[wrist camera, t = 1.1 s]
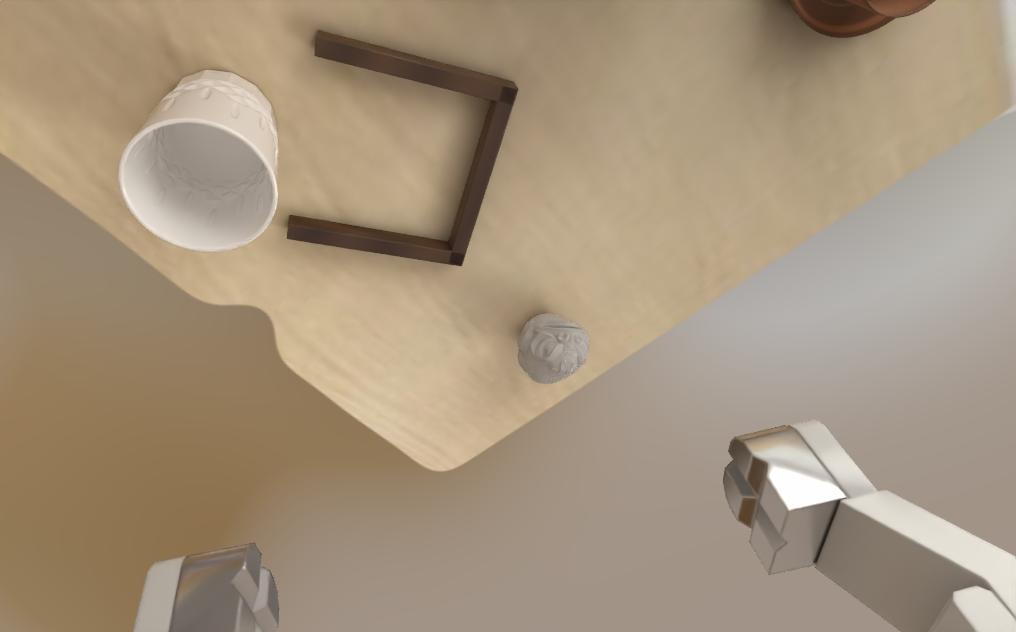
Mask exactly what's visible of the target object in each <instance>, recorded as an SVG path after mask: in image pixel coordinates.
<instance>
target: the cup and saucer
mask: <svg viewBox="0 0 1016 632" xmlns="http://www.w3.org/2000/svg"><path fill="white" fill-rule="evenodd" d="M934 1H935V0H791V3H792V5H793V7H794V9H795V11H796V13H797V14H798V15H799V17H800V18H801V19H802V20H803V21H804V22H805V23H806V24H807V25H808V26H809V27H810V28H812V29H813V30H815V31H816V32H818V33H820V34H823V35H826V36H830V37H836V38H848V37H855V36H859V35H863V34H866V33H869V32H871V31H874V30H876V29H878V28H880V27H882V26H884V25H885V24H887V23H889V22H890V21H892V20H893V19H895V18H898V17H905V16H908V15H911V14H914V13H916V12H919V11H920V10H922V9H924V8H926V7H927V6H929V5H930V4H932V3H933V2H934Z"/></svg>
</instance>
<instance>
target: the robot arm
mask: <svg viewBox="0 0 1016 632" xmlns="http://www.w3.org/2000/svg"><path fill="white" fill-rule="evenodd" d="M728 452H729V454H730V455H731V457H732V458H733V460H732V461H731V462H730V463H729V464H728V465H727V467H725V470H724V477H723V484H724V490H725V496H726V499H727V501H728V504H729V506H730V508H731V510H732V512H733V514H734V516H735V518H736V519H737V520H738V521H739V522H741V523H743V524H744V525H746V526H748V527H749V528H751V534H750V541H749V542H750V544H751V546H752V547H753V549H754V551H755V552H756V554H757V556H758V558H759V559H760V560H761V563H762V564H763V566H764V568H765V569H766V571H767V573H768V574H769V575H771V574H776V573H781V572H785V571H790V570H795V569H799V568H804V567H809V566H813V565H816V566H815V568H816V569H817V570H819V571H820V572H821V573H823V574H824V575H826V576H827V577H828V578H829V579H831V580H832V581H834V582H835V583H836V584H838V585H839V586H840V587H842V588H843V589H844V590H846V591H847V592H848V593H850V594H851V595H852V596H854V597H855V598H856V599H858V600H859V601H861V602H862V603H863V604H865V605H866V606H867V607H869V608H870V609H871V610H873V611H874V612H875V613H877V614H878V615H880V616H881V617H882V618H883V619H885V620H886V621H887V622H889V623H890V624H892V625H893V626H894V627H896V628H897V629H898V630H900V631H901V632H1016V557H1015V556H1013V555H1011V554H1009V553H1007V552H1006V551H1004V550H1002V549H1000V548H998V547H996V546H994V545H992V544H990V543H988V542H986V541H984V540H982V539H980V538H978V537H976V536H974V535H973V534H971V533H969V532H967V531H965V530H963V529H961V528H959V527H957V526H955V525H953V524H951V523H949V522H947V521H945V520H943V519H941V518H940V517H938V516H936V515H933V514H932V513H930V512H928V511H926V510H924V509H922V508H920V507H918V506H916V505H914V504H912V503H910V502H909V501H907V500H905V499H903V498H901V497H899V496H897V495H895V494H893V493H891V492H889V491H887V490H882V491H877V490H876V489H875V487H874V486H873V485H872V484H871V482H870V481H869V480H868V479H867V478H866V476H865V475H864V474H863V473H862V472H861V470H860V469H859V468H858V467H857V465H856V464H855V463H854V462H853V460H852V459H851V458H850V457H849V456H848V454H847V453H846V452H845V451H844V450H843V448H842V447H841V446H840V444H839V443H838V442H837V441H836V439H835V438H834V437H833V436H832V435H831V433H830V432H829V431H828V430H827V428H826V427H825V426H824V425H823V424H822V423H821V422H819V421H817V420H809V421H805V422H801V423H796V424H792V425H788V426H785V425H784V426H780V427H775V428H771V429H767V430H762V431H758V432H754V433H750V434H745V435H741V436H737V437H734V438H733V439H732V441H731V442H730V446H729V450H728ZM261 556H262V554H261V552H260V550H259V549H258V547H257V545H256V544H255V543H250V544H245V545H240V546H235V547H229V548H224V549H220V550H214V551H210V552H204V553H199V554H194V555H188V556H184V557H179V558H174V559H169V560H164V561H160V562H155V563H153V565H152V566H151V568H150V570H149V571H148V573H147V575H146V579H145V584H144V588H143V592H142V596H141V600H140V604H139V608H138V613H137V617H136V621H135V625H134V629H133V632H275V631H276V630H277V628H278V624H279V603H278V592H277V587H276V584H275V580H274V577H273V575H272V573H271V571H270V570H269V569H267V568H264V567H262V566H261Z"/></svg>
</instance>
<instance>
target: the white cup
mask: <svg viewBox="0 0 1016 632" xmlns="http://www.w3.org/2000/svg"><path fill="white" fill-rule="evenodd" d="M278 164H279V157H278V138H277V124H276V121H275V117H274V113H273V109H272V106H271V104H270V103H269V101H268V100H267V99H266V98H265V96H264V95H263V94H262V93H261V92H260V90H259V89H258V88H257V87H256V85H254V84H252V83H250V82H249V81H247V80H245V79H243V78H241V77H239V76H238V75H236V74H234V73H232V72H224V71H215V70H203V71H200V72H197V73H195V74H192V75H189V76H186V77H183V78H182V79H181V80H180V81H179V83H178V84H177V85H176V86H175V87H174V89H173V90H172V91H171V92H170V93H169V94H167V95H166V96H165V97H164V98H163V99H162V100H161V101H160V103H159V104H158V105H156V107H155V108H154V110H153V111H152V112H151V114H150V115H149V116H148V118H147V119H146V120H145V122H144V123H143V124H142V126H141V127H140V129H139V130H138V131H137V133H136V134H135V135H134V137H133V138H132V139H131V141H130V142H129V143H128V145H127V146H126V148H125V149H124V151H123V153H122V156H121V159H120V162H119V167H118V182H119V188H120V192H121V195H122V197H123V200H124V202H125V204H126V206H127V207H128V209H129V210H130V212H131V213H132V215H133V216H134V217H135V218H136V220H137V221H138V222H139V223H140V224H141V225H142V226H143V227H145V228H146V229H147V230H148V231H149V232H151V233H152V234H154V235H155V236H157V237H158V238H160V239H162V240H164V241H166V242H168V243H170V244H172V245H175V246H178V247H181V248H184V249H188V250H193V251H200V252H220V251H227V250H231V249H235V248H238V247H241V246H243V245H245V244H247V243H249V242H251V241H252V240H254V239H255V238H257V237H258V236H259V235H260V234H261V233H262V232H263V231H264V230H265V229H266V228H267V226H268V225H269V223H270V222H271V220H272V218H273V216H274V214H275V211H276V207H277V200H278Z"/></svg>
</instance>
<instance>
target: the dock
mask: <svg viewBox="0 0 1016 632" xmlns="http://www.w3.org/2000/svg"><path fill="white" fill-rule="evenodd" d="M315 56H317V57H321V58H325V59H329V60H333V61H337V62H341V63H345V64H349V65H353V66H357V67H361V68H365V69H369V70H373V71H377V72H381V73H385V74H389V75H393V76H397V77H401V78H405V79H409V80H413V81H417V82H421V83H425V84H429V85H433V86H437V87H441V88H445V89H449V90H453V91H457V92H461V93H464V94H468V95H472V96H476V97H480V98H484V99H488V100H491V103H490V106H489V109H488V113H487V116H486V119H485V123H484V126H483V129H482V133H481V136H480V139H479V143H478V146H477V149H476V153H475V156H474V159H473V163H472V166H471V169H470V172H469V176H468V179H467V182H466V186H465V189H464V192H463V196H462V199H461V202H460V206H459V209H458V212H457V216H456V219H455V222H454V226H453V229H452V232H451V236H450V239H449V242H447V241H441V240H435V239H429V238H423V237H417V236H411V235H406V234H400V233H394V232H388V231H382V230H376V229H370V228H364V227H358V226H352V225H346V224H341V223H335V222H329V221H323V220H317V219H311V218H305V217H299V216H293V215H290V217H289V224H288V232H287V239H291V240H298V241H304V242H310V243H317V244H323V245H329V246H336V247H342V248H348V249H355V250H361V251H368V252H374V253H380V254H387V255H393V256H399V257H406V258H412V259H418V260H425V261H431V262H438V263H444V264H450V265H457V266H462V264H463V261H464V257H465V254H466V251H467V248H468V245H469V241H470V238H471V235H472V232H473V229H474V226H475V223H476V220H477V217H478V213H479V210H480V207H481V204H482V201H483V198H484V195H485V192H486V188H487V185H488V182H489V179H490V176H491V173H492V170H493V167H494V163H495V160H496V157H497V154H498V151H499V148H500V145H501V142H502V138H503V135H504V132H505V129H506V126H507V123H508V120H509V117H510V113H511V110H512V107H513V105H514V101H515V98H516V95H517V92H518V88H517V86H516V85H515V83H514V82H512V81H509V80H505V79H501V78H497V77H494V76H490V75H486V74H482V73H478V72H475V71H471V70H467V69H463V68H459V67H456V66H452V65H448V64H444V63H441V62H437V61H433V60H429V59H425V58H422V57H418V56H414V55H410V54H407V53H403V52H399V51H395V50H391V49H388V48H384V47H380V46H376V45H372V44H369V43H365V42H361V41H357V40H354V39H350V38H346V37H342V36H338V35H335V34H331V33H327V32H323V31H319V30H318V31H317V38H316V44H315Z"/></svg>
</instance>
